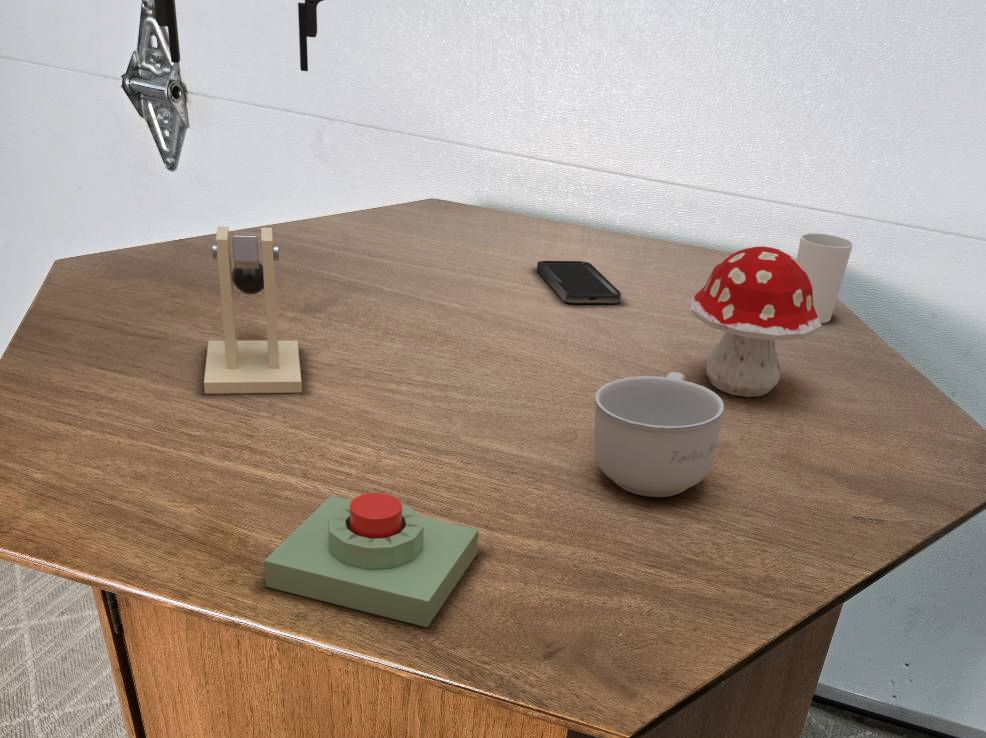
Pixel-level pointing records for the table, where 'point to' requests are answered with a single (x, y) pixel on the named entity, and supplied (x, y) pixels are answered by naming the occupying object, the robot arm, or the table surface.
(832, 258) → the drinking glass
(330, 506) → the control block
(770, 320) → the decorative mushroom
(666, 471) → the teacup
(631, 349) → the table surface
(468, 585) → the table surface
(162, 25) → the robot arm
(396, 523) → the button
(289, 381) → the bracket
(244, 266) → the lever
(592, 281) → the phone
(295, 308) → the table surface
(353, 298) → the table surface
